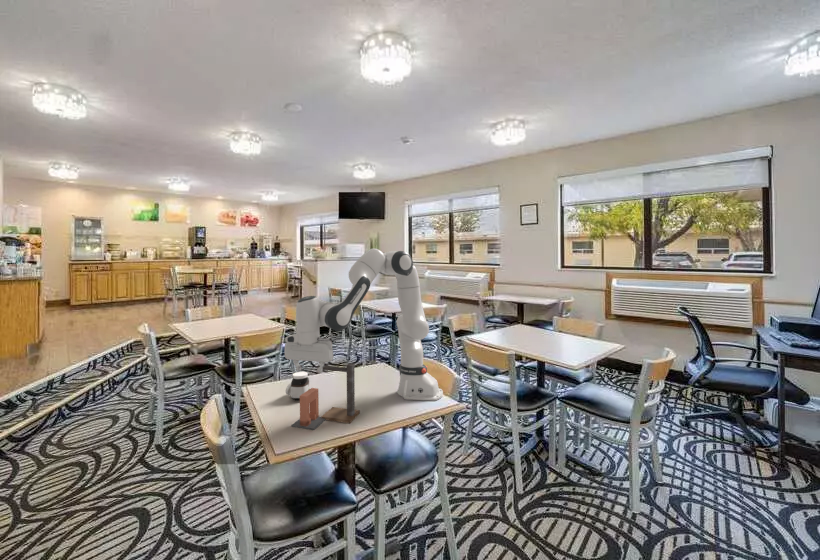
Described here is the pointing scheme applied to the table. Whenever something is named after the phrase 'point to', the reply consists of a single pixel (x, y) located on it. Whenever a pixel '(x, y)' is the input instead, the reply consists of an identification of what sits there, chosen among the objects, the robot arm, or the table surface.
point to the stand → (350, 412)
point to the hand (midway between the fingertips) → (309, 371)
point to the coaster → (311, 426)
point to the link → (305, 399)
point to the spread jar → (298, 385)
